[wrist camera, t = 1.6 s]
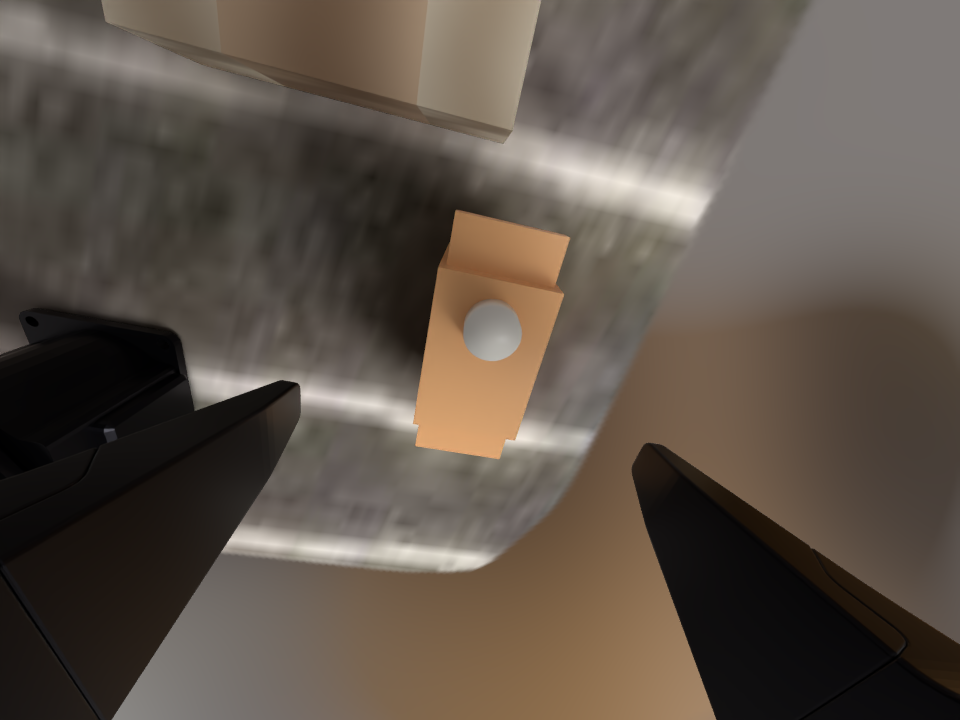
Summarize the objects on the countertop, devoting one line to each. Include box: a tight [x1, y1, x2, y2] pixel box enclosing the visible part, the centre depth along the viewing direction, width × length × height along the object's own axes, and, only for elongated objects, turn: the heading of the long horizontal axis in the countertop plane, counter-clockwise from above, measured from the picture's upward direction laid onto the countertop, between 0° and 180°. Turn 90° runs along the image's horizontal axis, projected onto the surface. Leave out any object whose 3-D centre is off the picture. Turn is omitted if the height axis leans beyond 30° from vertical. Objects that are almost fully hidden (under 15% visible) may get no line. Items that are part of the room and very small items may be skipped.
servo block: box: [413, 209, 570, 459], centre depth 14 cm, size 4×9×6 cm, turn 168°
